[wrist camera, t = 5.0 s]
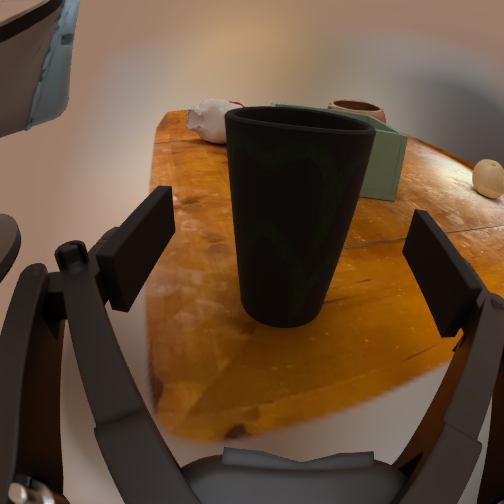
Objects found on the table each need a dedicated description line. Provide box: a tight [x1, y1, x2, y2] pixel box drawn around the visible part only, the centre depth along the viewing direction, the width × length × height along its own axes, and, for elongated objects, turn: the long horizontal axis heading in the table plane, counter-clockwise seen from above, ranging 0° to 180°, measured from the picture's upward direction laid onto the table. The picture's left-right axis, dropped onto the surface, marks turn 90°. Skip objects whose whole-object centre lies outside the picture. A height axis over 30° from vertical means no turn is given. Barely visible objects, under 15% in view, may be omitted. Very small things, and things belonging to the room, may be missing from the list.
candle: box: [186, 98, 244, 144], centre depth 56 cm, size 9×11×15 cm
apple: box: [472, 160, 504, 199], centre depth 44 cm, size 8×8×8 cm
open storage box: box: [271, 103, 408, 201], centre depth 42 cm, size 18×18×9 cm
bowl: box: [327, 99, 386, 124], centre depth 68 cm, size 16×16×10 cm
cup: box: [224, 106, 376, 328], centre depth 17 cm, size 8×8×12 cm
